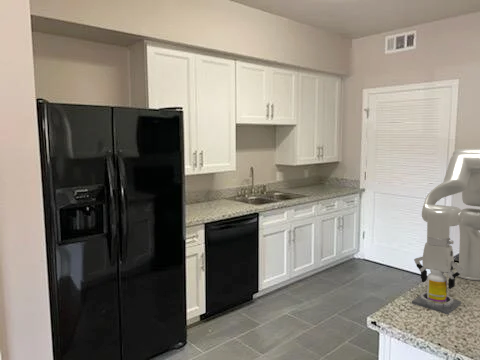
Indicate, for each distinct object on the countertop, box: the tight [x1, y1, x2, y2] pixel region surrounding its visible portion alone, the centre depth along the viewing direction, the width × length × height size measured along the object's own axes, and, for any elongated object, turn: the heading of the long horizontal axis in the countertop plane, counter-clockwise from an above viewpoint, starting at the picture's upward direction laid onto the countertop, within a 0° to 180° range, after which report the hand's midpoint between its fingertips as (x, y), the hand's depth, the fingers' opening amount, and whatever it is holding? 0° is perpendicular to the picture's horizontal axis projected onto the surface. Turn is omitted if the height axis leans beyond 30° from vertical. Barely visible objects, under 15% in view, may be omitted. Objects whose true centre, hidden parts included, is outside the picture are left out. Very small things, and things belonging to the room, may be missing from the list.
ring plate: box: [411, 291, 462, 315], centre depth 141 cm, size 13×13×2 cm
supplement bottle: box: [426, 269, 448, 303], centre depth 141 cm, size 7×7×13 cm
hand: (437, 284), depth 141 cm, fingers open, 9 cm apart
